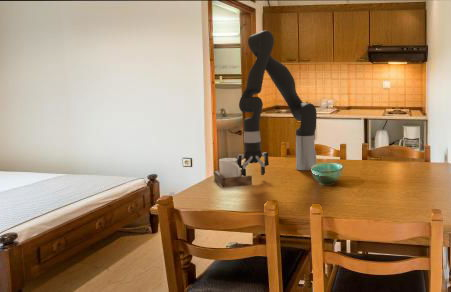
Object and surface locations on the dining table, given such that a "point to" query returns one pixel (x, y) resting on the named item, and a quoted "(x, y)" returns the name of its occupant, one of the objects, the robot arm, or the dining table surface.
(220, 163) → the mug
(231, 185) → the tray
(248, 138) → the robot arm
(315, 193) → the dining table surface
